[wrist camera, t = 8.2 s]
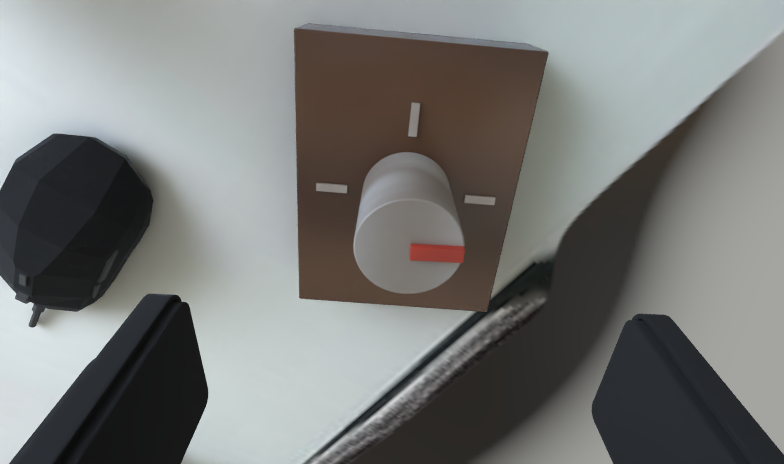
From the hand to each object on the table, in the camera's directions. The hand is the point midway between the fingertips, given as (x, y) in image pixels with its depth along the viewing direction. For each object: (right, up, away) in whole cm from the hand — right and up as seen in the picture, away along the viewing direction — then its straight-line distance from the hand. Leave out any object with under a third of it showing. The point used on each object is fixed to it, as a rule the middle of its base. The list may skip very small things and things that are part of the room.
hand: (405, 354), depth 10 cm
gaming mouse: (-19, +2, +16) cm, 24 cm away
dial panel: (0, +6, +13) cm, 14 cm away
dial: (0, +4, +11) cm, 11 cm away
